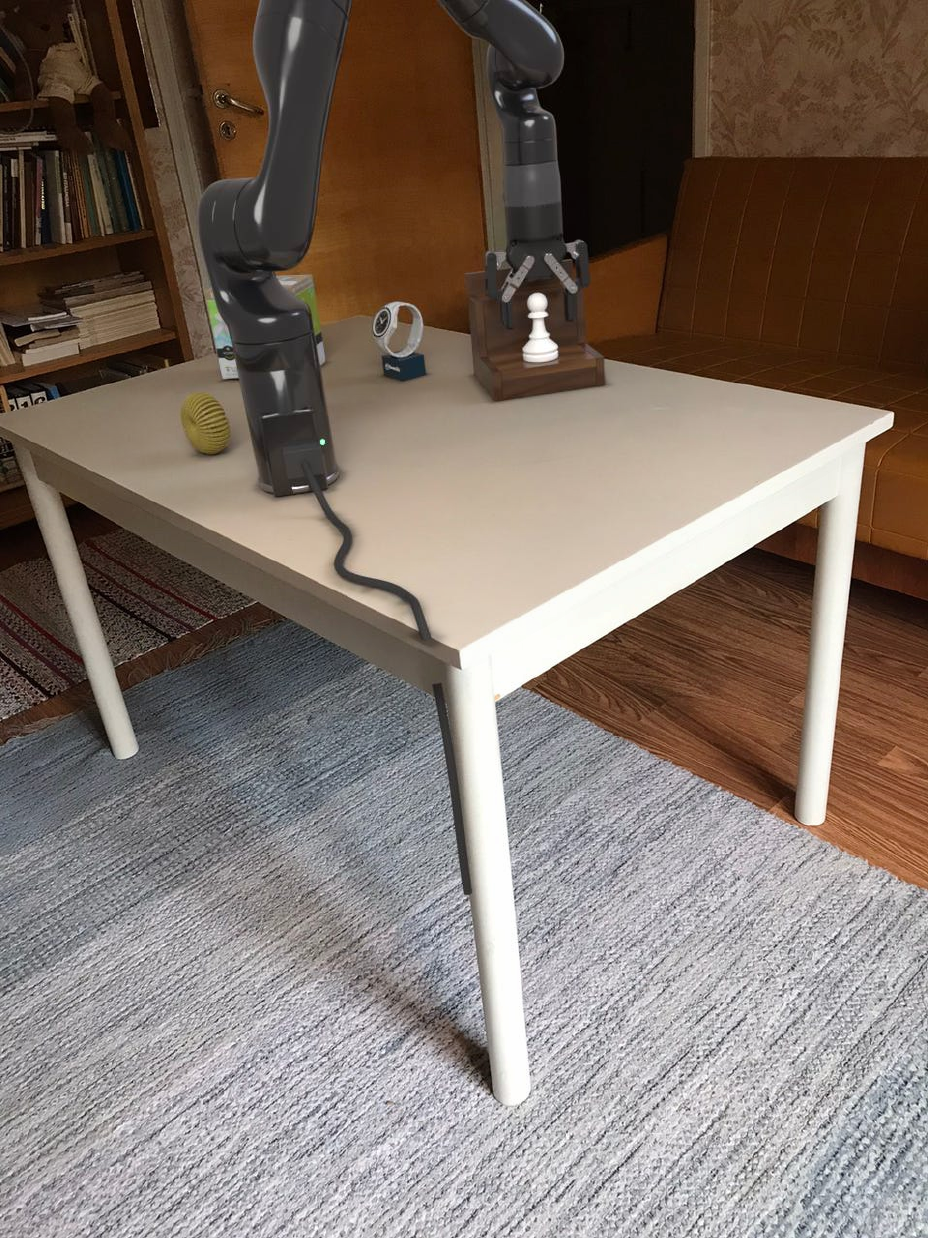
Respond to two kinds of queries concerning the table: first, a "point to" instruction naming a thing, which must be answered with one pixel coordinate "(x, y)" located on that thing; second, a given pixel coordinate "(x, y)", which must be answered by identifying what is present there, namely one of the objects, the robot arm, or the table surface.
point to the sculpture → (205, 423)
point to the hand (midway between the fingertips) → (539, 324)
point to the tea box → (293, 283)
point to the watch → (406, 360)
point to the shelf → (503, 348)
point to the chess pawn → (539, 333)
